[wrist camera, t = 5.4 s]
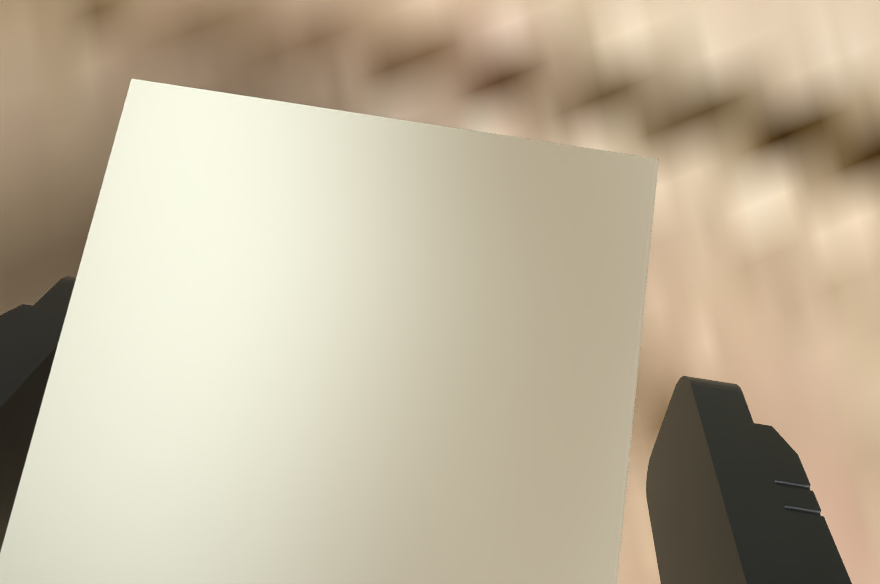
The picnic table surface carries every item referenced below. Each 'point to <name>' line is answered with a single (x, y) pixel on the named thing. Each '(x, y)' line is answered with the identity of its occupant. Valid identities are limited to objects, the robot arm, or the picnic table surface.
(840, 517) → the picnic table surface
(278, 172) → the birch post
